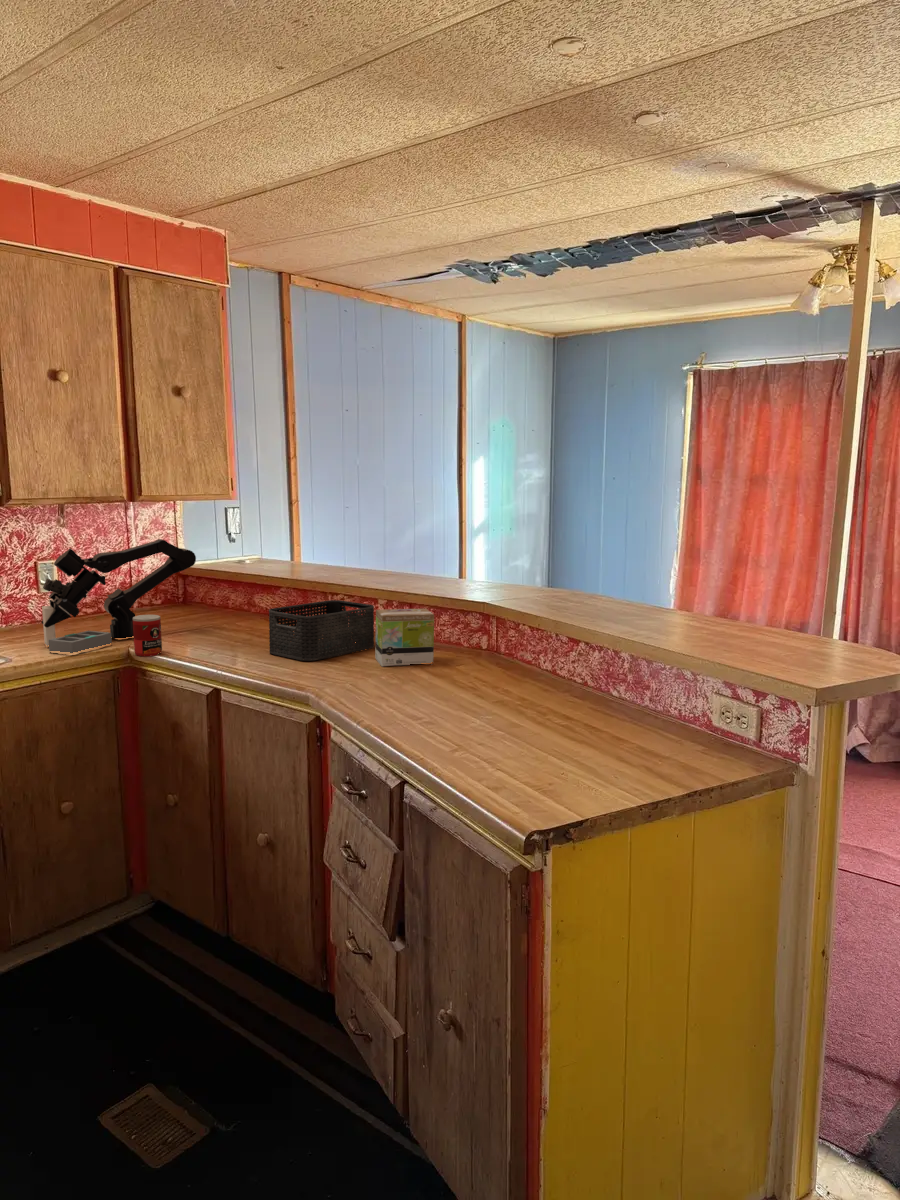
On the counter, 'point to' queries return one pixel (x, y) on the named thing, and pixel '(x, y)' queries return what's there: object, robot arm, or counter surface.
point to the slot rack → (80, 641)
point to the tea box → (404, 636)
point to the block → (49, 631)
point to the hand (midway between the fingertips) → (43, 625)
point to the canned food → (147, 635)
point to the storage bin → (321, 630)
